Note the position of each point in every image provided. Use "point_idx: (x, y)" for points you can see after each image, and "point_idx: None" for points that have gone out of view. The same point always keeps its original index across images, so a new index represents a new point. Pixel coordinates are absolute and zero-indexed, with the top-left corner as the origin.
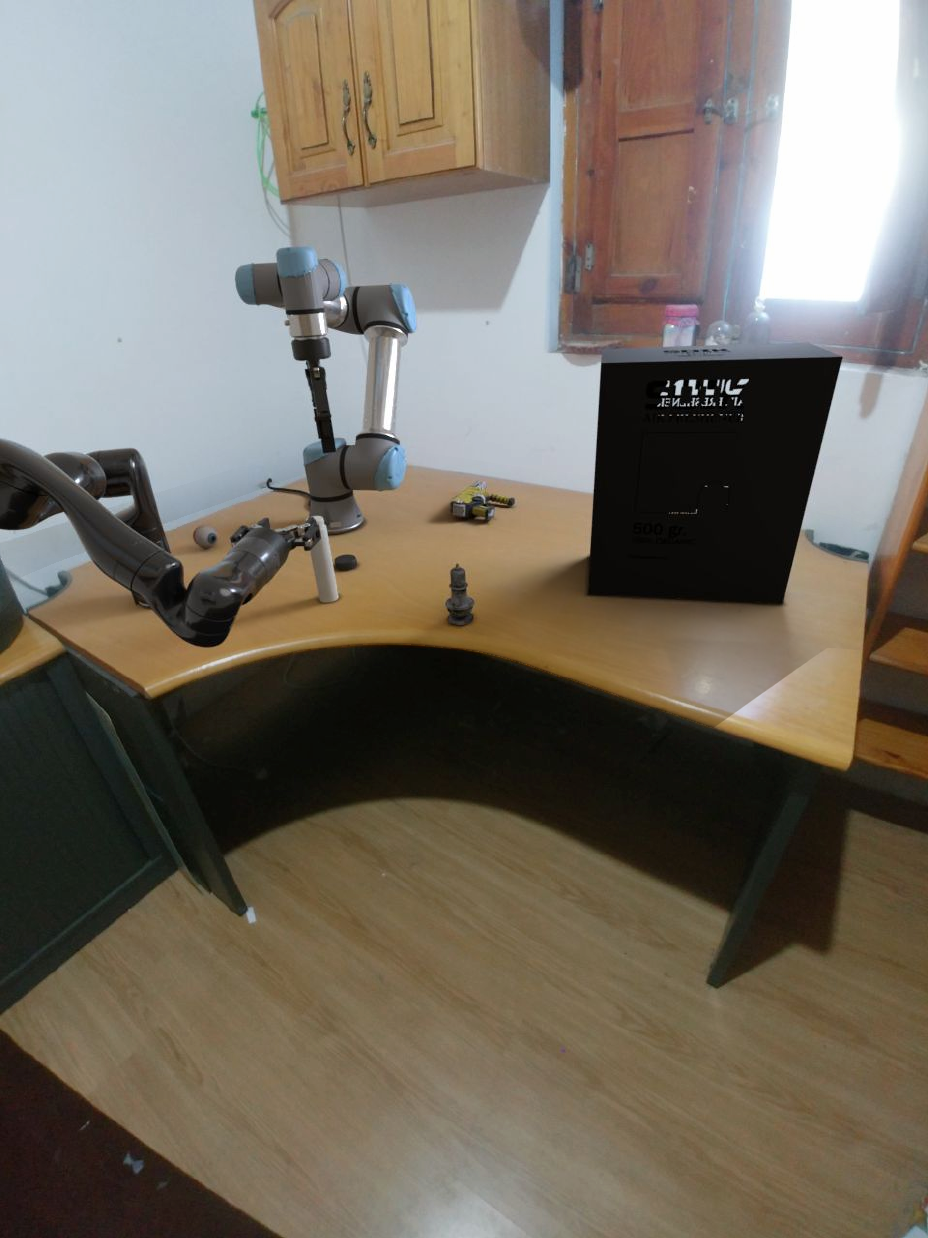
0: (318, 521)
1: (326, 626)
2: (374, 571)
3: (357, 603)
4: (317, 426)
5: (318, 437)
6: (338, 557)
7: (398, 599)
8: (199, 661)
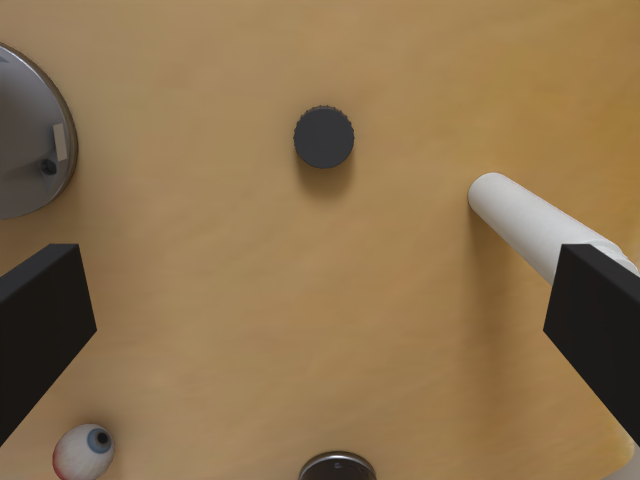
0: (638, 273)
1: (616, 209)
2: (388, 61)
3: (550, 132)
4: (39, 389)
5: (86, 336)
6: (308, 156)
7: (588, 23)
8: (605, 409)
